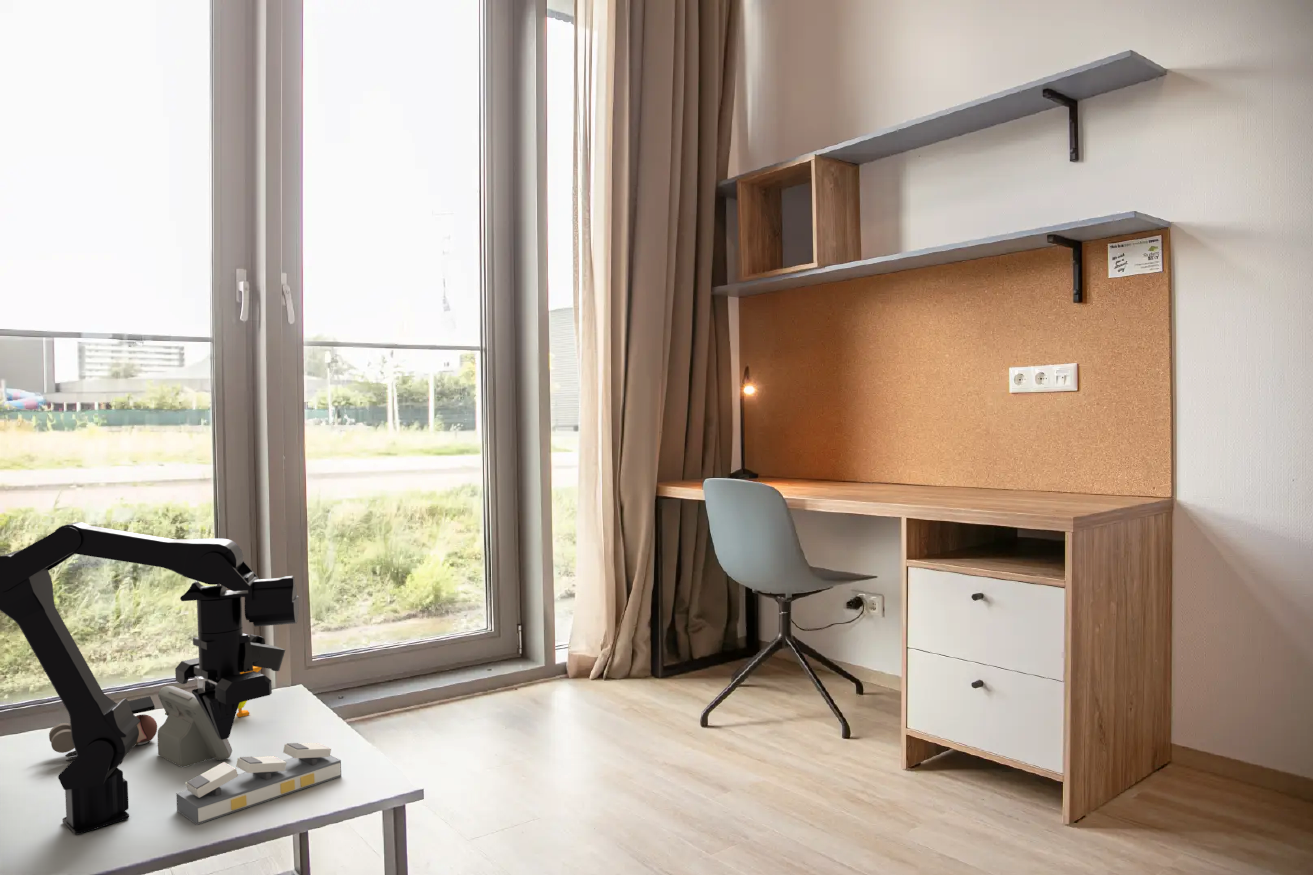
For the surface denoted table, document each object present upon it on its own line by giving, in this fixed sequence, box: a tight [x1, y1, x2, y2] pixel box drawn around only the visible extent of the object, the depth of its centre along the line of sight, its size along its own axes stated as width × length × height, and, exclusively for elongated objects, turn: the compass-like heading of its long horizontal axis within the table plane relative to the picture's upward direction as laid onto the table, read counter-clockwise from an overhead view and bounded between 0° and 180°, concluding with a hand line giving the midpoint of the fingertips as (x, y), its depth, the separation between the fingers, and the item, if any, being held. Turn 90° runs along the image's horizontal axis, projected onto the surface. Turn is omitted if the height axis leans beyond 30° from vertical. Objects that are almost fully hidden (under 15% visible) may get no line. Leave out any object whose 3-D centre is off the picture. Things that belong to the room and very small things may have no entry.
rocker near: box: [185, 761, 239, 798], centre depth 127 cm, size 6×4×1 cm
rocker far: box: [282, 742, 332, 758], centre depth 137 cm, size 6×4×1 cm
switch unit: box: [175, 754, 342, 825], centre depth 132 cm, size 21×7×3 cm, turn 138°
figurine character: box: [48, 695, 158, 762], centre depth 152 cm, size 7×8×15 cm
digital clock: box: [157, 685, 233, 768], centre depth 149 cm, size 16×9×11 cm, turn 39°
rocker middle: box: [235, 755, 287, 773], centre depth 132 cm, size 6×4×1 cm
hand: (224, 738), depth 128 cm, fingers closed
